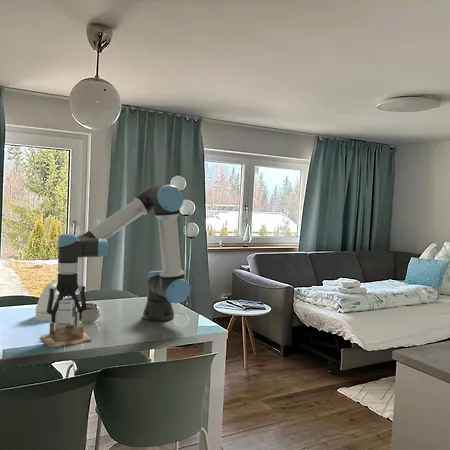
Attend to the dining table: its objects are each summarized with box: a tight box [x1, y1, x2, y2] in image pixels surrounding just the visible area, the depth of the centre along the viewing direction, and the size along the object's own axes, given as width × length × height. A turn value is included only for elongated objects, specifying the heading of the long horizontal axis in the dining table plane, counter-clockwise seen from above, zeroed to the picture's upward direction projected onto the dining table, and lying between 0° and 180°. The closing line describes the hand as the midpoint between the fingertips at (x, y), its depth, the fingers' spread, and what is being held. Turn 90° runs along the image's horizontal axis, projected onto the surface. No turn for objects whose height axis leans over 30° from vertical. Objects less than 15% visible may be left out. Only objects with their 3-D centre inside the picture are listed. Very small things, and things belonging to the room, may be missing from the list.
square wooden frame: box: [40, 322, 93, 348], centre depth 174 cm, size 16×14×7 cm
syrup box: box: [57, 296, 77, 329], centre depth 174 cm, size 6×6×14 cm
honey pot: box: [35, 278, 59, 322], centre depth 205 cm, size 13×13×18 cm
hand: (66, 329), depth 174 cm, fingers closed on syrup box, 8 cm apart
